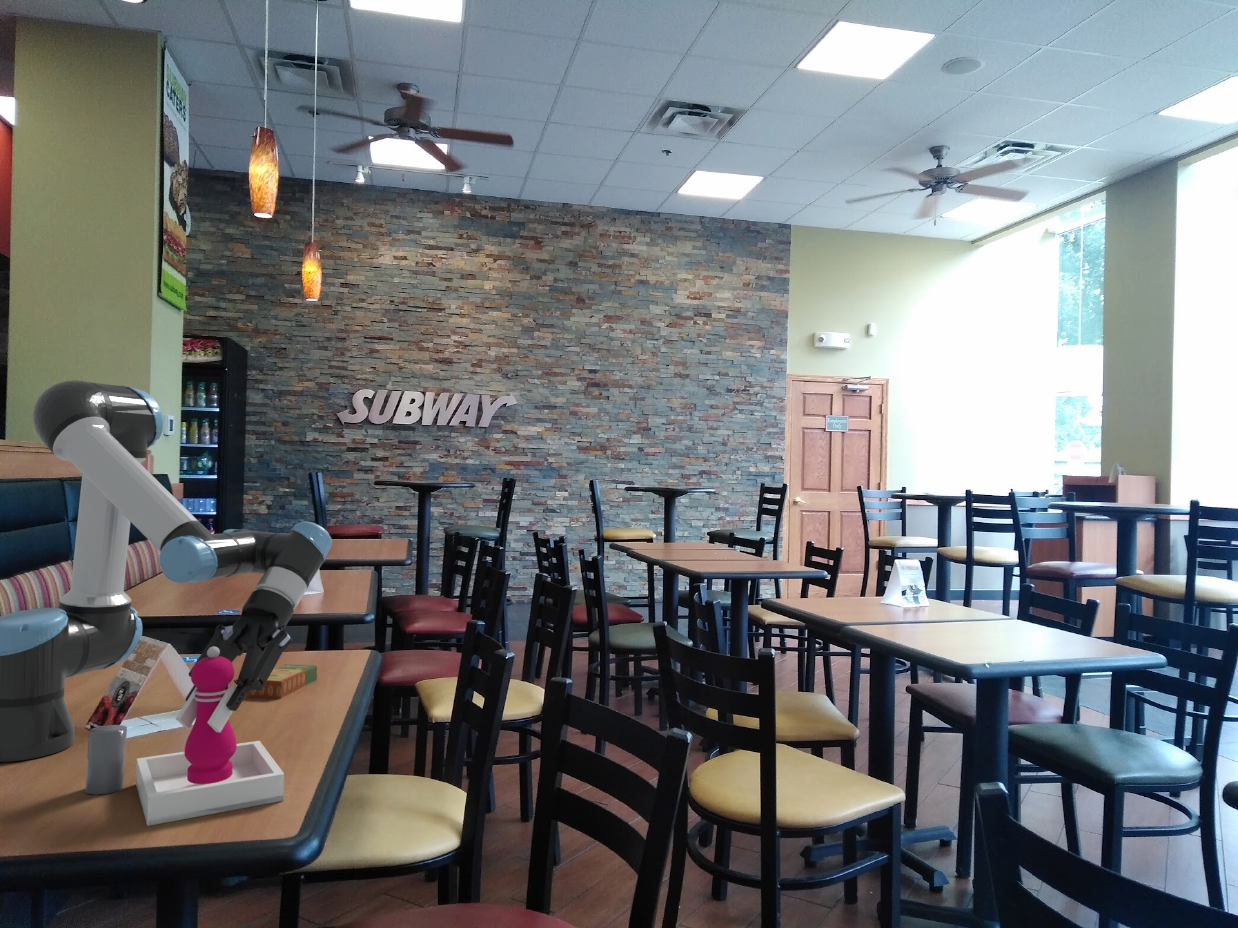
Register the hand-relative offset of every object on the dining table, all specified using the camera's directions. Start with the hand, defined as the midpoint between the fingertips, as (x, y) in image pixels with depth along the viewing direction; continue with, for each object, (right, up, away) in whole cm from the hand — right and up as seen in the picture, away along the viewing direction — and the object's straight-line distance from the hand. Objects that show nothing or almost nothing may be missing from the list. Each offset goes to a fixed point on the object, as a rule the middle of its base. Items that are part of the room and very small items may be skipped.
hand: (198, 725), depth 127 cm
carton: (-12, -12, +63) cm, 66 cm away
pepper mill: (+1, -9, +3) cm, 9 cm away
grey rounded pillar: (-16, -11, +3) cm, 19 cm away
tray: (0, -11, +2) cm, 11 cm away
